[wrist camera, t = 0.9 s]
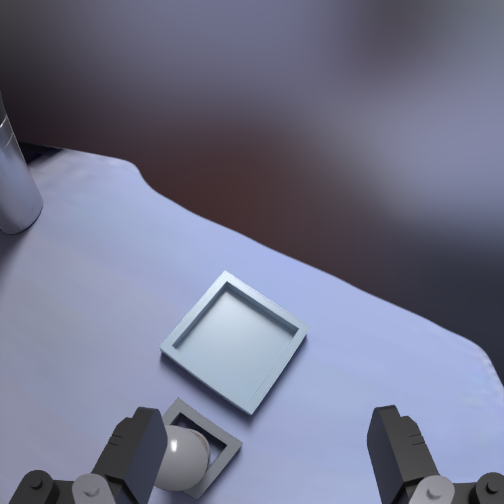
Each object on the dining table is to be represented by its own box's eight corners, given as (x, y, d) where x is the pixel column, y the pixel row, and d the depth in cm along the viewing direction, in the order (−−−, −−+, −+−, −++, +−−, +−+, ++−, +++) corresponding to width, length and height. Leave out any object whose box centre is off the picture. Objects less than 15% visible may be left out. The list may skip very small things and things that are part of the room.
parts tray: (161, 351, 33) (158, 346, 31) (224, 278, 39) (225, 270, 38) (249, 415, 30) (251, 414, 29) (306, 332, 36) (310, 326, 35)
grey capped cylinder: (158, 451, 27) (121, 460, 15) (183, 420, 29) (162, 411, 18) (193, 476, 26) (180, 503, 14) (218, 445, 28) (221, 453, 16)
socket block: (136, 451, 26) (131, 452, 25) (180, 399, 30) (177, 397, 29) (197, 496, 24) (196, 500, 23) (241, 442, 29) (243, 442, 27)
